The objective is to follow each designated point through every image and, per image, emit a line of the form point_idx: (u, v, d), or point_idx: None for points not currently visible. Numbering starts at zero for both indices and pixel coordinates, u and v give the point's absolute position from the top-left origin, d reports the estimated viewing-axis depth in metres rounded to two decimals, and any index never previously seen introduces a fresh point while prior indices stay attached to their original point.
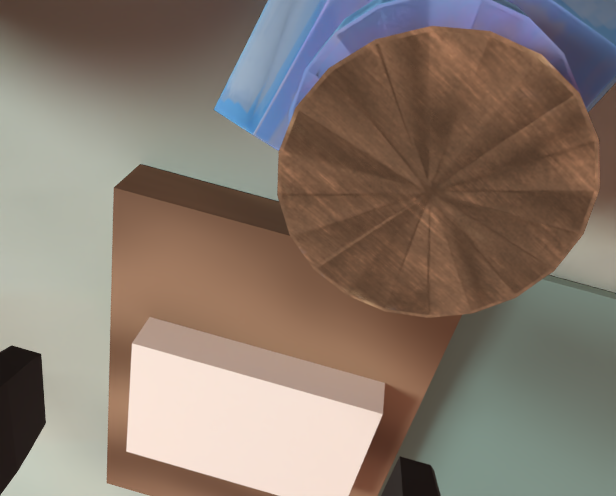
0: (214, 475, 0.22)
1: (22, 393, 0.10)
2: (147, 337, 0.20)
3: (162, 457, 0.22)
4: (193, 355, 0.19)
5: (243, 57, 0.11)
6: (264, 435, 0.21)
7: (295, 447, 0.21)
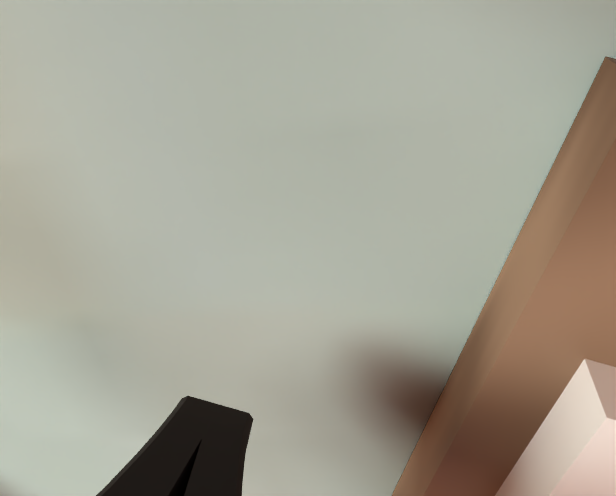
0: None
1: None
2: None
3: None
4: None
5: None
6: None
7: None
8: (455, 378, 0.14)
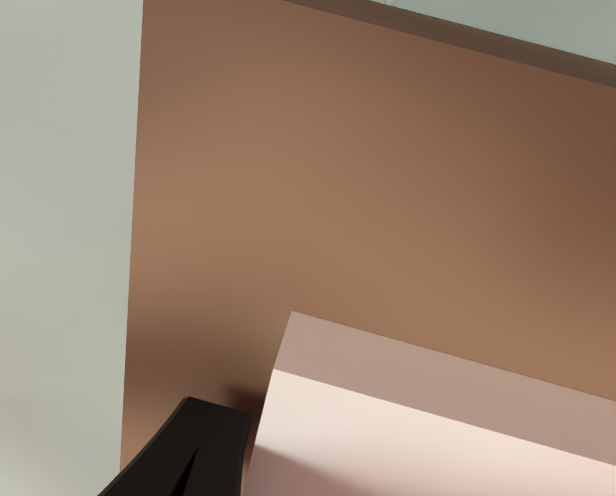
0: None
1: None
2: (301, 355, 0.09)
3: None
4: (407, 395, 0.09)
5: None
6: None
7: None
8: None
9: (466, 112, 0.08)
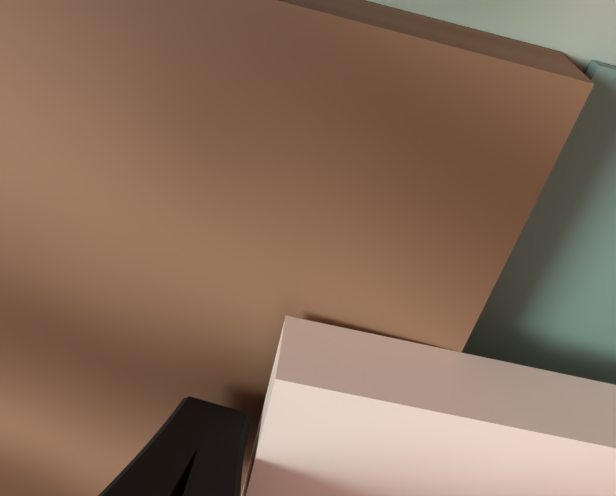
0: None
1: None
2: (301, 362, 0.09)
3: None
4: (412, 395, 0.09)
5: None
6: None
7: None
8: None
9: (57, 4, 0.08)
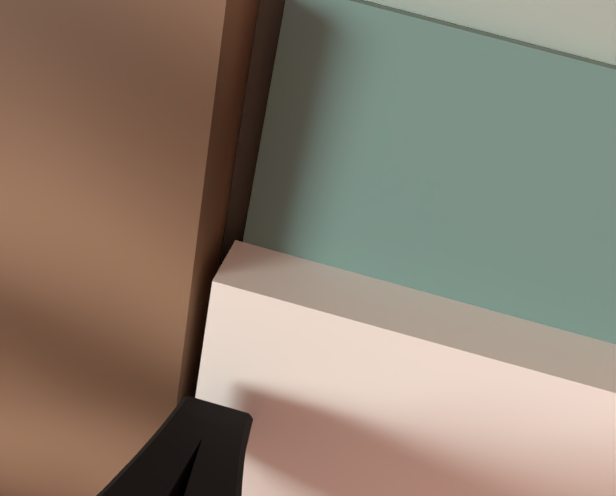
0: None
1: None
2: (238, 272, 0.10)
3: (246, 491, 0.13)
4: (329, 305, 0.10)
5: None
6: (444, 456, 0.11)
7: (502, 477, 0.11)
8: None
9: None
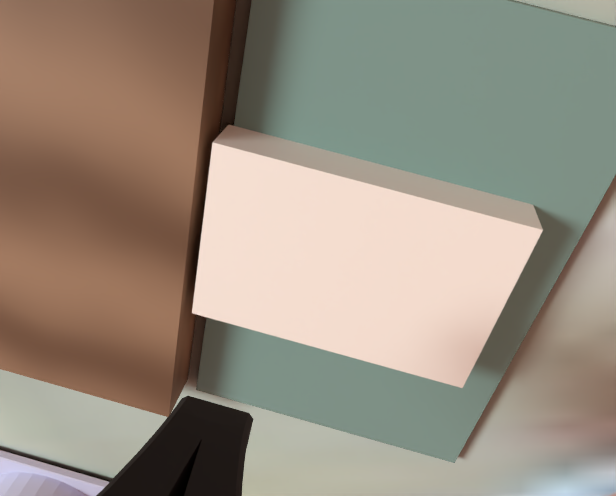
0: (302, 342, 0.18)
1: None
2: (230, 139, 0.15)
3: (238, 318, 0.18)
4: (291, 159, 0.15)
5: None
6: (376, 275, 0.16)
7: (416, 291, 0.16)
8: None
9: None
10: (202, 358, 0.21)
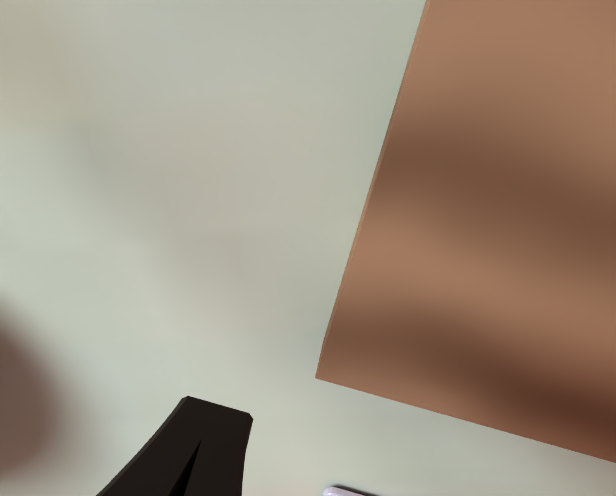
0: None
1: None
2: None
3: None
4: None
5: None
6: None
7: None
8: (382, 149, 0.17)
9: None
10: None
